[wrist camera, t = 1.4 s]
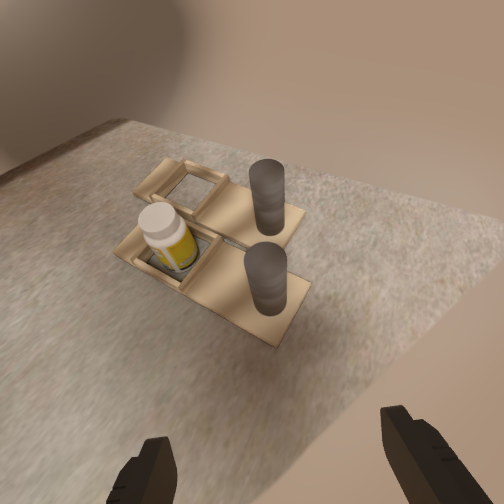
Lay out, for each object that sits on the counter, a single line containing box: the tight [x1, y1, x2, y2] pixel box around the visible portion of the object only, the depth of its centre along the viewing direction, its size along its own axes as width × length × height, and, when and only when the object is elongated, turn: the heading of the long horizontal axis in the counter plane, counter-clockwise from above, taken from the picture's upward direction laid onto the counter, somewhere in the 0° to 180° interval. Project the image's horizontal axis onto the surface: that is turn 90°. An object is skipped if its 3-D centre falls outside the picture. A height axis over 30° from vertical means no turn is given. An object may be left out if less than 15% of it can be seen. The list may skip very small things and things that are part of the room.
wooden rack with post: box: [113, 219, 311, 349], centre depth 31 cm, size 24×8×10 cm, turn 59°
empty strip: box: [132, 158, 306, 250], centre depth 37 cm, size 24×8×10 cm, turn 59°
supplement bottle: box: [138, 202, 199, 273], centre depth 34 cm, size 5×5×8 cm
